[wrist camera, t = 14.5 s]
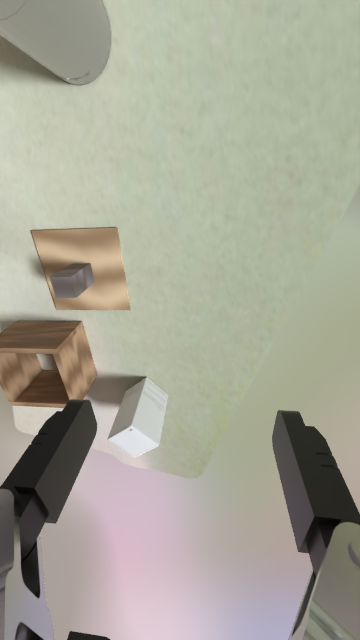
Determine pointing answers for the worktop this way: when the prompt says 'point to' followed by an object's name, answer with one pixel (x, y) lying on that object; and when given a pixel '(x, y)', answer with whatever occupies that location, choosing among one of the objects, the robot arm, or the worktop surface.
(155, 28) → the worktop surface
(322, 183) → the worktop surface
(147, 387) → the supplement box
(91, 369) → the box
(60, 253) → the lid
